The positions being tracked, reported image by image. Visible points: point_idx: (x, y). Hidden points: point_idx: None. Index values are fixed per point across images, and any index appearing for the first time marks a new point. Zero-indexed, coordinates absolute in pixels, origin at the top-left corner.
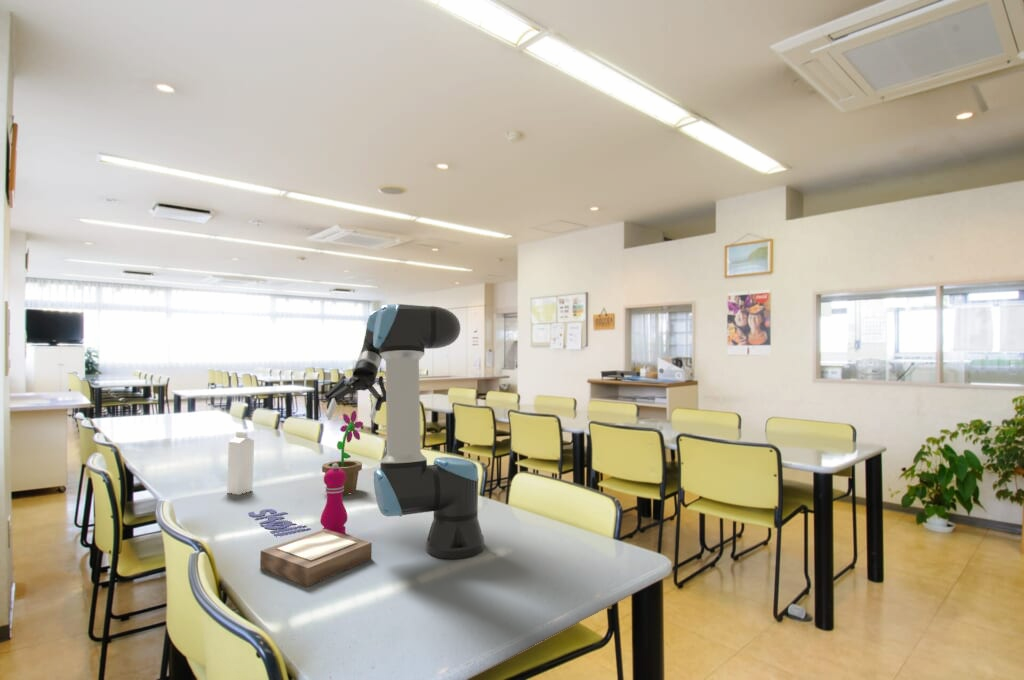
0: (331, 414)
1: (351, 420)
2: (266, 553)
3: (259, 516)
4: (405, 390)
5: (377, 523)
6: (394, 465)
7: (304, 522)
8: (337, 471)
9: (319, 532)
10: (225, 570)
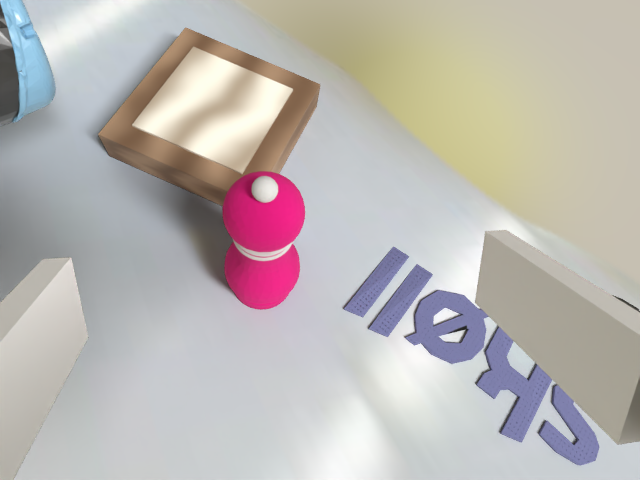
0: (501, 305)
1: None
2: (302, 78)
3: (555, 386)
4: None
5: (168, 392)
6: None
7: (397, 362)
8: (246, 181)
9: None
10: (369, 95)
